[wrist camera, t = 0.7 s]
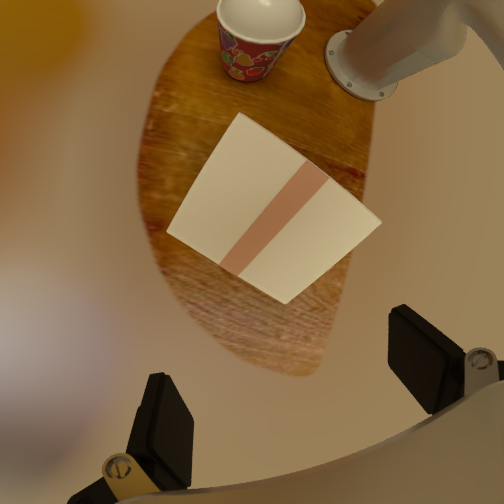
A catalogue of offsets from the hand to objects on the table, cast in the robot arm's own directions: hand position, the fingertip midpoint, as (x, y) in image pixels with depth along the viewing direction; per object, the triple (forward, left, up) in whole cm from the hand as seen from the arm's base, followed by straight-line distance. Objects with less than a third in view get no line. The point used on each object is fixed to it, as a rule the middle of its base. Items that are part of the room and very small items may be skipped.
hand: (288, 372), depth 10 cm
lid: (-4, 0, -17) cm, 18 cm away
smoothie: (-21, -13, -28) cm, 37 cm away
